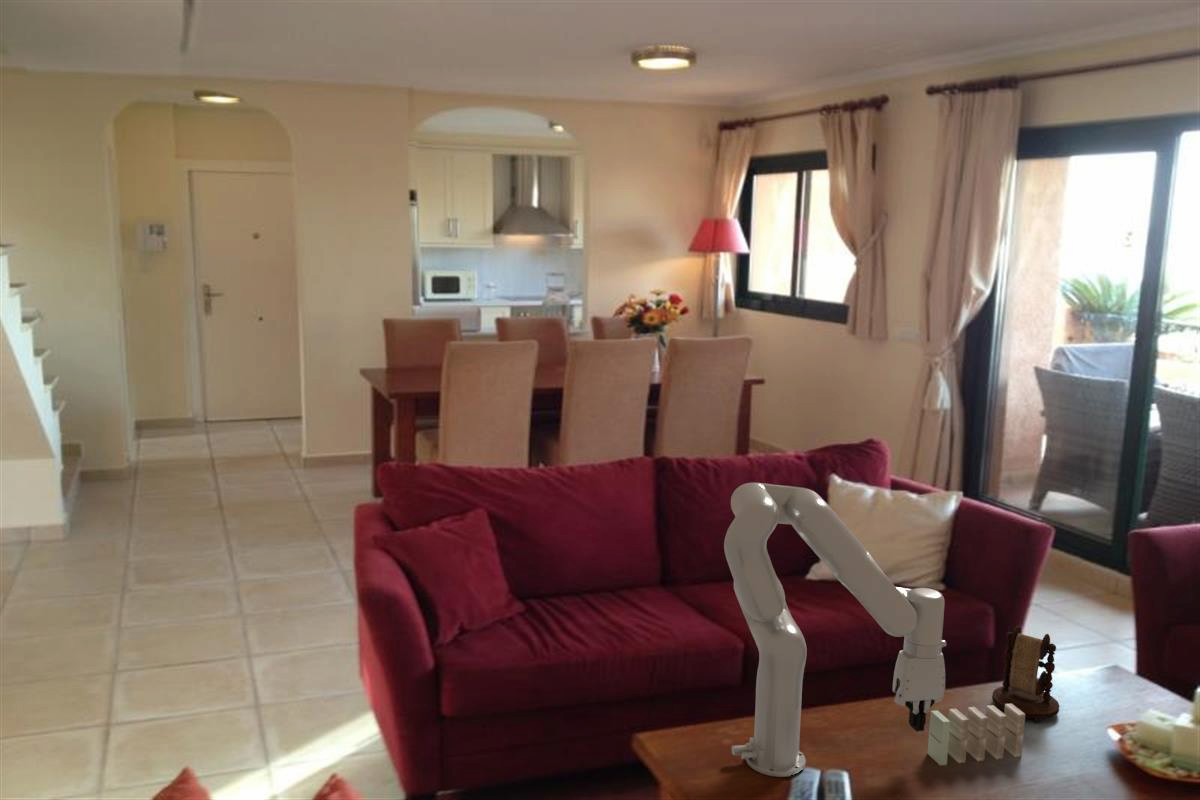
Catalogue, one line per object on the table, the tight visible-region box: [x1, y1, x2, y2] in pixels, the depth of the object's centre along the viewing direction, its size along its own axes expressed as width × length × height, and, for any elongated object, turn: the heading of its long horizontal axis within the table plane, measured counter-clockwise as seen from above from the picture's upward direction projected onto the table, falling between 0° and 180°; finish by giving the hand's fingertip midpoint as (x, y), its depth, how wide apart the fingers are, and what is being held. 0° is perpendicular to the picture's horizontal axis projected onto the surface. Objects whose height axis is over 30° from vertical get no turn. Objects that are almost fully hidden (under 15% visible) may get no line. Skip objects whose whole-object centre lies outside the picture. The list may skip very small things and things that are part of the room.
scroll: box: [991, 625, 1060, 724], centre depth 236 cm, size 15×15×20 cm
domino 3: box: [966, 706, 988, 762], centre depth 215 cm, size 2×5×10 cm, turn 12°
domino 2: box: [948, 708, 969, 764], centre depth 214 cm, size 2×5×10 cm, turn 12°
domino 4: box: [985, 704, 1007, 761], centre depth 216 cm, size 2×5×10 cm, turn 12°
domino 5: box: [1003, 703, 1026, 758], centre depth 217 cm, size 2×5×10 cm, turn 12°
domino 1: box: [927, 710, 950, 767], centre depth 213 cm, size 2×5×10 cm, turn 12°
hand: (916, 728), depth 212 cm, fingers closed
